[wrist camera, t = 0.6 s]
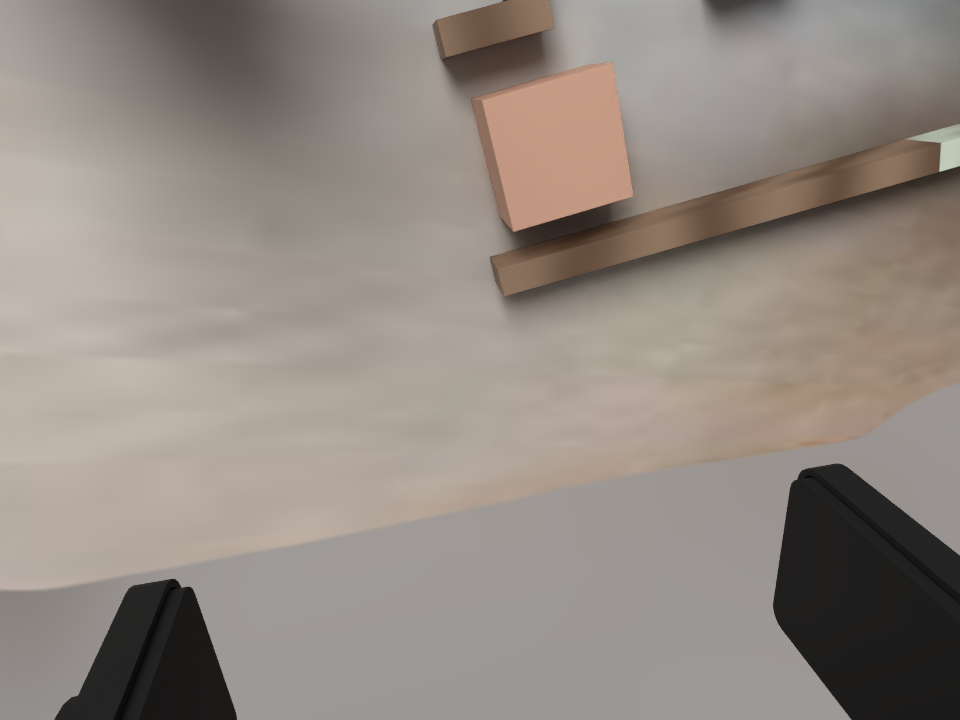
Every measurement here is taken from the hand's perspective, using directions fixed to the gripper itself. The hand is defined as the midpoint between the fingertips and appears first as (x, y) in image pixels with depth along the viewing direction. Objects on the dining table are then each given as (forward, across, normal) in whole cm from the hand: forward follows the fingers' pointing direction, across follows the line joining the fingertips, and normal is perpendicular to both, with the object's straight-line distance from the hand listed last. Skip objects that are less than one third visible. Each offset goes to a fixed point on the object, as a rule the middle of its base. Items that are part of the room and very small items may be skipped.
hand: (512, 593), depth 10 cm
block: (+26, -7, -4) cm, 27 cm away
